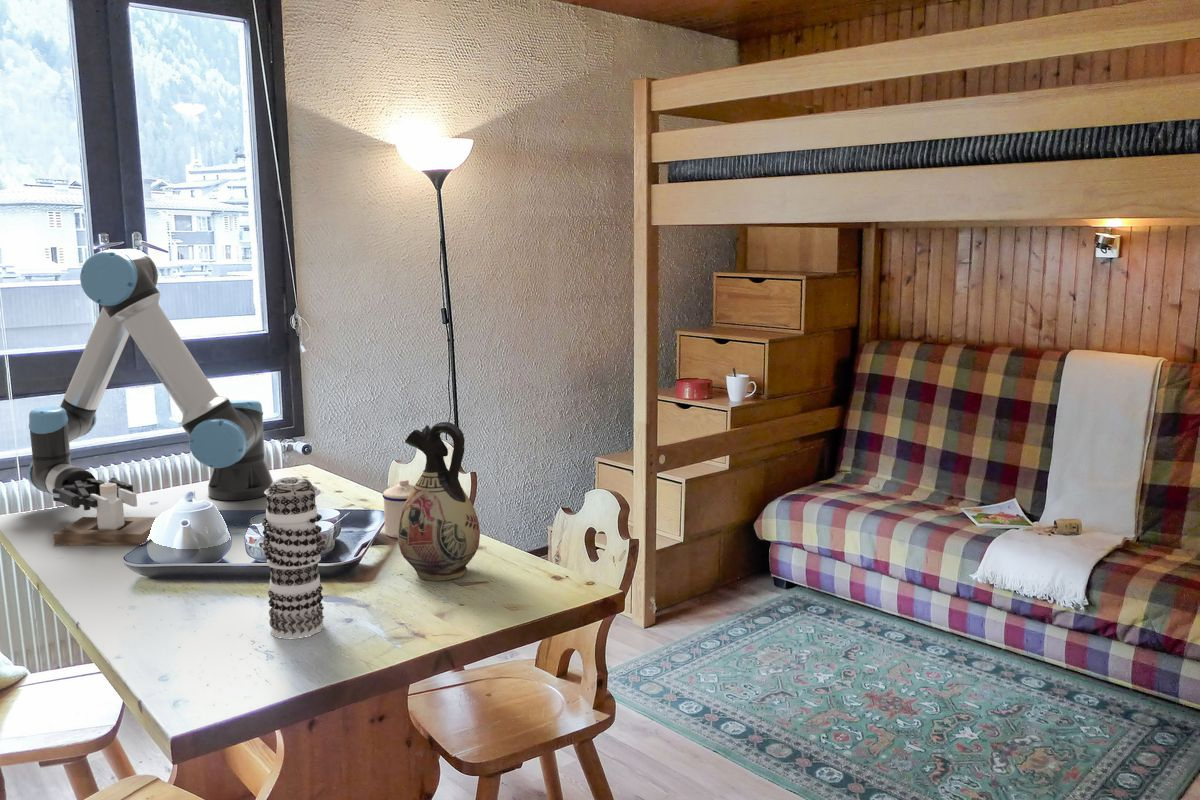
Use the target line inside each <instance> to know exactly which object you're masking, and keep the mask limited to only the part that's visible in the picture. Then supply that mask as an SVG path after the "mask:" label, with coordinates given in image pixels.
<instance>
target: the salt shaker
mask: <svg viewBox="0 0 1200 800" xmlns="http://www.w3.org/2000/svg"><path fill="white" fill-rule="evenodd" d="M100 495H101V497H104V498H106V499H108V503H109V512H107V513H105V512H102V511H100V510H98V509H96V517H97V522H98V529H99V530H117V529H119V528H121V527H122V526H124V517H125V513H124V511H125V510H124V503H123V500H122V499H121V498H118V497H117V484H116V483H104V484H101V485H100Z"/></svg>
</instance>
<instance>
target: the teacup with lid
mask: <svg viewBox="0 0 1200 800" xmlns="http://www.w3.org/2000/svg"><path fill="white" fill-rule="evenodd" d="M414 485H415V484H412V483H410V481H409V480H408V479H407V478H403V479H399V482H398V483H397V484H395V485H394V486H392V487H389V488H387V489H385V490H384V491H383V493H382V498H383V510H384V511H383V513H384V515H383V517H384V533H385V535H387V536H388V537H391V538H394V539H395V538H396V539H398V528H399V522H400V517H401V513H402V510H403V507H404V505H405V502H406V500H407V499H408V497H409V495H410V493H411V491H412V489H413V488H414Z"/></svg>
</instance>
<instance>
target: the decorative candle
mask: <svg viewBox="0 0 1200 800" xmlns="http://www.w3.org/2000/svg"><path fill="white" fill-rule="evenodd" d="M317 490H318V487H317V486H315V485H313V484H312V482H311V481H310V480H309V479H307V478H305V477H299V476H298V477H297V476H294V477H293V476H292V477H285V478H284V477H283V478H279V479H275V480H273V483H272V484H271V485H270V487H269V488H268V489H267V490H265V492H264V494H266V495H265V497H266V509H265V517H263V518H262V522H261V525H262V526H263V531H262V534H263V538H265V541H264V544H263V545H264V547H265V549H266V550H265V552H264V556H265V559H266V564H267V566H268V567H269V569H270V570H269V571H270V572H269V573H270V578H269V589H268V590H267V594H268V597H269V600H268V606H269V607H270V608H269V611H268V615H269V617H270V619H269V622H268V623H269V626H270V634H271V635H272V634H273V635H274V636H276V637H281V638H299V637H305V636H309V635H313V634H315V633H317V632H319V631H320V630H321V629H322V628H323V627H324V625H325V624H324V619H325V615H324V613H323V611H324V610H325V609H324V608H325V607H324V605H323V603H322V601H323V599H324V596H323V595H322V590H323V589H324V588H323V586H322V584H321V577H320V576H321V575H320V573H319V562H320V561H322V560H321V558H322V557H321V553H322V548H320V547H318V545H317V544H319V543H320V542H321V541H322V539H323V538H322V536H320V535H318V534H319V533H321V532H322V527H321V526H319V525H318V524H317V525H316V523H318V522H320V521H322V519H323V516H322V514H319V513H318V511H317V510H318V509H317V508H318V507H317V504H316V491H317ZM323 629H324V628H323ZM323 629H322V630H323ZM322 630H321V631H322ZM319 633H320V632H319ZM317 634H318V633H317ZM273 635H272V636H273ZM315 635H316V634H315ZM274 636H273V637H274ZM313 636H314V635H313ZM276 637H275V638H276Z"/></svg>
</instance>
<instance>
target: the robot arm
mask: <svg viewBox="0 0 1200 800" xmlns="http://www.w3.org/2000/svg"><path fill="white" fill-rule="evenodd" d="M81 267H82V268H81V270H80V273H79V274H80V275H79V279H80V281H79V282H80V285H81V288H82V291H83V292H84V293H85V295H86V296H87V297H88V298H89V299H90V300H91V301H93V302H94V303H96V304H99V305H101V306H102V308H101V310H100V313H99V315H98V318H97V319H96V321H95V324H94V326H93V329H92V331H91V334H90V336H89V338H88V340H87V342H86V345H85V347H84V350H83V351H82V352H83V353H82V354H81V356H80V359H79V361H78V364H77V366H76V368H75V371H74V373H73V375H72V378H71V381H70V383H69V385H68V387H67V390H66V391H65V394H64V397H63V399H62V402H61V403H60V405H59V406H42V407H38V408H34V409H32V410H31V411H29V413H28V419H29V420H28V430H29V436H30V444H31V453H32V454H31V455H32V456H31V457H32V461H31V463H30V465H29V466H28V469H27V472H26V476H27V480H28V481H29V483H30V484H31V486H33V487H34V488H36V489H37V490H39V491H41V492H44V493H46V494H47V493H48V494H50V495H51V496H52V500H53V501H54V502H58V503H59V502H60V503H62V504H64V505H66V506H68V507H70V508H73V509H79V508H81V506H83V510H84V511H90V510H91V508H93V509H98V510H100V511H102V512H105V513H107V512H109V503H108V499H106V498H104V497H101V495H100V485H101V484H104V483H116V484H117V497H118V498H121V499H122V500H123V504H125V505H128V506H130V507H133V508H134V507H138V501H137V500H138V499H137V493H135V492H134V485H132V484H130V483H127V482H124V481H121V480H119V479H117V477H111V478H110V479H108V481H107V482H106V481H103V480H101V479H96V477H95V476H94V475H93V474H92V473H91V472H90V471H89V470H86V469H83V468H81V467H78V466H76V465H72V462H71V448H70V447H71V446H70V442H72V441H75V440H77V439H78V438H81V437H83V436H86V435H88V433H90V431H92V430H93V429H94V428H95V426H96V423H97V415H96V413H97V410H98V407H99V406H100V403H101V401H102V398H103V395H104V394H105V392H106V389H107V387H108V385H109V382H110V380H111V379H112V378H111V377H112V375H113V373H114V371H115V368H116V366H117V364H118V361H119V359H120V357H121V355H122V353H123V350H124V349H125V346H126V344H127V341H128V339H129V337H131V338H132V340H133V341H134V343H135V345H137V347H138V349H139V350H140V352H141V353H142V356H144V357H145V359H146V361H147V362H148V364H149V366H150V367H151V368H152V370H153V372H154V373H155V374H156V376H157V378H158V379H159V381H160V382H161V384H162V385H163V386H164V388H165V390H166V391H167V393H168V394H169V396H170V398H172V400H173V401H174V404H175V405H176V407H177V408H178V410H179V411H180V412H181V414H182V419H181V423H180V425H181V426H182V428H183V430H184V431H185V433H186V434H187V436H188V437H189V441H188V444H189V445H188V446H189V450H190V452H191V454H192V456H193V457H194V458H195V460H196V461H198V462H199V463H200V464H201V465H204V466H206V467H209V468H212V470H211V475H210V478H209V481H208V487H207V493H208V496H209V498H212V499H215V500H220V501H243V500H244V501H245V500H250V499H251V500H252V499H258V498H262V497H266V494H264V492H265V490H267V489H268V488H269V487H270V485H271V484H272V483H273V482H274V480H273V477H272V475H271V472H270V469H269V468H268V465H267V462H266V460H265V457H266V455H265V440H264V439H265V438H264V435H265V434H264V420H263V419H264V418H263V417H264V412H263V407H262V404H261V402H260V401H258V400H254V399H253V400H250V399H249V400H248V399H246V400H245V399H243V400H242V399H241V400H238V399H237V400H235V399H233V400H230V399H229V398H228V397H225V396H222V395H219V394H218V393H217V392H216V390H215V389H214V387H213V385H212V384H211V382H210V381H209V380H208V378H207V377H206V375H205V373H204V371H202V369H201V367H200V366H199V364H198V362H197V361H196V359H195V358H194V356H193V355H192V353H191V352H190V350H189V348H188V347H187V346H186V344H185V342H184V341H183V340H182V338H181V337H180V334H179V333H178V332H177V331H176V328H175V327H174V326H173V324H172V322H171V321H170V320H169V318H168V317H167V315H166V314H165V312H164V310H163V308H162V307H161V306H160V304H159V301H160V298H161V293H160V290H158V288H157V284H158V281H159V279H158V278H159V276H158V275H159V274H158V269H157V266H156V263H155V262H154V261H153V259H152V258H151V257H150V256H149V255H147V253H144V252H143V251H141V250H138V249H134V248H121V249H116V248H115V249H114V248H109V249H103V250H101V251H98V252H96V253H94V254H93V255H91V256H90V257H88V258H87V259H86V260H85V262H84V263H83V265H82V266H81Z"/></svg>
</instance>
